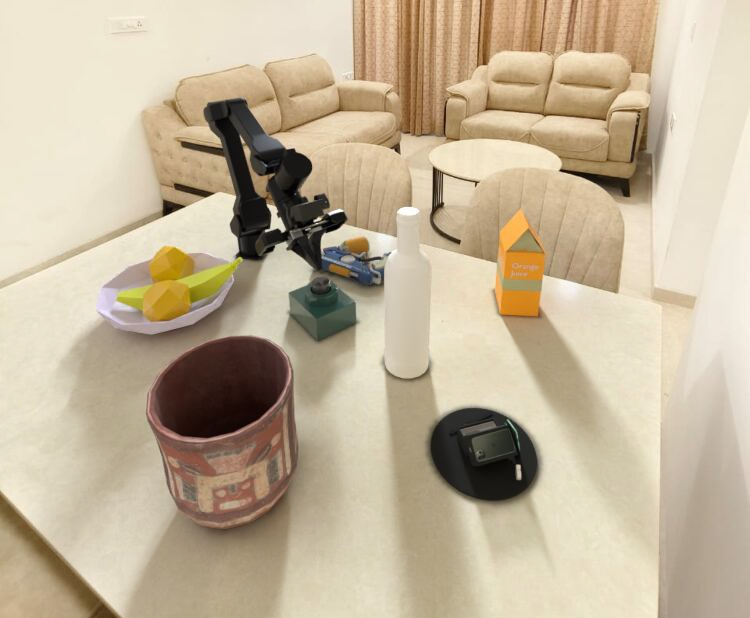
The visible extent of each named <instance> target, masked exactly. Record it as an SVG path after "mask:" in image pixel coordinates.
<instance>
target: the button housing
mask: <svg viewBox="0 0 750 618" xmlns="http://www.w3.org/2000/svg"><path fill="white" fill-rule="evenodd" d="M288 303H289V304H288V305H289V313H290V314H291V316H293V317H294V319H295V320H297V322H298V323H300V324H301V325H302V327H303V328H305V330H306V331H308V332H309V334H310V335H311V336H312V337H313V338H314V339H315V340H316V341H318V342H319V341H321V340H323V339H325V338H327V337H329V336H331V335H333V334H335V333H338V332H339V331H342V330H343V329H346V328H348V327H350V326H352V325H354V324H356V323H357V302H356V300H354V299H353V298H352V297H351V296H350V295H348V294H347V293H346V292H345V291H344V290H342V289H341V288H339V286H338V284H336V282H334V281H333V280H330V292H329V293H326V294H322V295H317V294H314V293H313V292H312V283H311V281H310V282H308V283H307V284H306V285H303V286H301V287H299V288H297V289H294V290H291V291H289V292H288Z"/></svg>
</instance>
